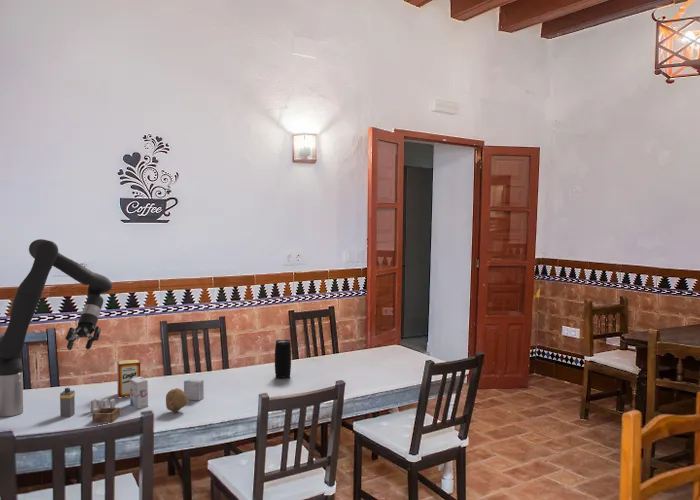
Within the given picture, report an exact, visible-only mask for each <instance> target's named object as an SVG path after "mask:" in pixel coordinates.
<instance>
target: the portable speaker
mask: <svg viewBox="0 0 700 500" xmlns="http://www.w3.org/2000/svg"><path fill="white" fill-rule="evenodd" d="M291 371H292V347H291V340H290V339H276V340H275V346H274V374H275V378H276V379H280V378H284V379H290V378H291Z"/></svg>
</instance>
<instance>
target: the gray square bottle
mask: <svg viewBox="0 0 700 500" xmlns="http://www.w3.org/2000/svg"><path fill="white" fill-rule="evenodd" d="M75 396H76V392H75V390H71V388H70V387H65V388H64V390H63V391H62V392H59V402H60V404H59V407H60V411H59V412H60V414H59V417H60V418H71V417H73V416H74V415H75V414H76V411H75V410H76V408H75V407H76V405H75Z"/></svg>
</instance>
